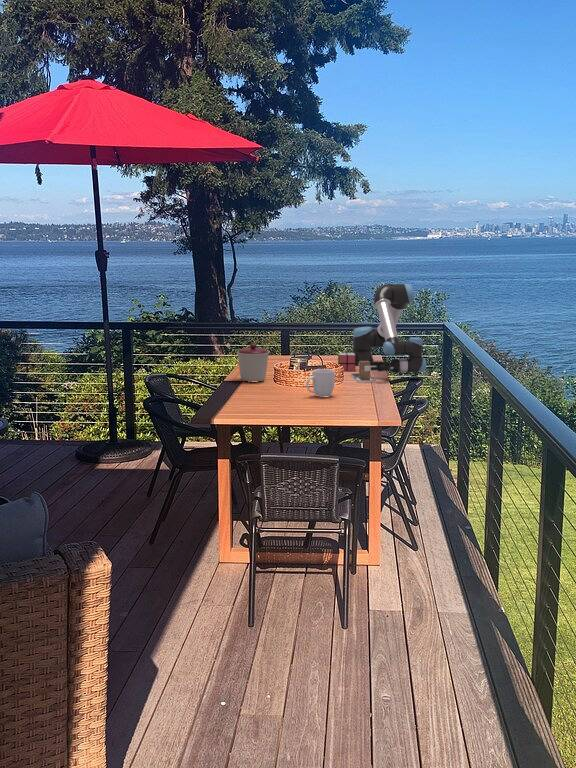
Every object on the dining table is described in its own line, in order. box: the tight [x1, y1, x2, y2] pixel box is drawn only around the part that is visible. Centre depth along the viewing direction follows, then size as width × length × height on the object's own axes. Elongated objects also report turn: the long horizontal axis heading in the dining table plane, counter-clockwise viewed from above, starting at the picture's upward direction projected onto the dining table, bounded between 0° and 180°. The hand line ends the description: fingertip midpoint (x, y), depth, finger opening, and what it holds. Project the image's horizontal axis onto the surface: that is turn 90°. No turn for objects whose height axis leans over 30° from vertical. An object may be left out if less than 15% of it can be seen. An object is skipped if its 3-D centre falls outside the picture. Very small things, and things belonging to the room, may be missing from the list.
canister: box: [236, 343, 270, 382], centre depth 440 cm, size 18×18×21 cm
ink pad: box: [349, 372, 359, 378], centre depth 457 cm, size 9×9×1 cm
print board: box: [351, 376, 377, 383], centre depth 446 cm, size 11×11×1 cm
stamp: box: [358, 361, 371, 380], centre depth 445 cm, size 5×5×10 cm
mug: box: [305, 368, 336, 397], centre depth 399 cm, size 15×11×13 cm
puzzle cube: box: [337, 352, 356, 373], centre depth 479 cm, size 10×10×10 cm
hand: (361, 366), depth 445 cm, fingers open, 13 cm apart
